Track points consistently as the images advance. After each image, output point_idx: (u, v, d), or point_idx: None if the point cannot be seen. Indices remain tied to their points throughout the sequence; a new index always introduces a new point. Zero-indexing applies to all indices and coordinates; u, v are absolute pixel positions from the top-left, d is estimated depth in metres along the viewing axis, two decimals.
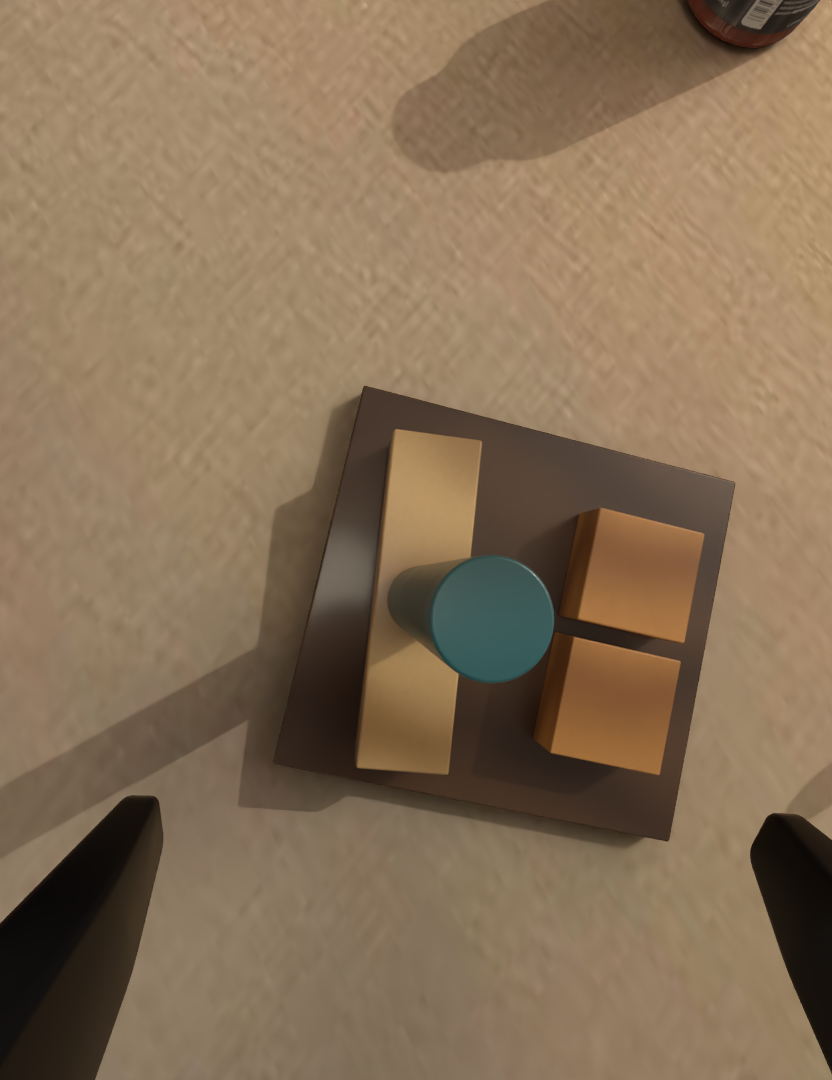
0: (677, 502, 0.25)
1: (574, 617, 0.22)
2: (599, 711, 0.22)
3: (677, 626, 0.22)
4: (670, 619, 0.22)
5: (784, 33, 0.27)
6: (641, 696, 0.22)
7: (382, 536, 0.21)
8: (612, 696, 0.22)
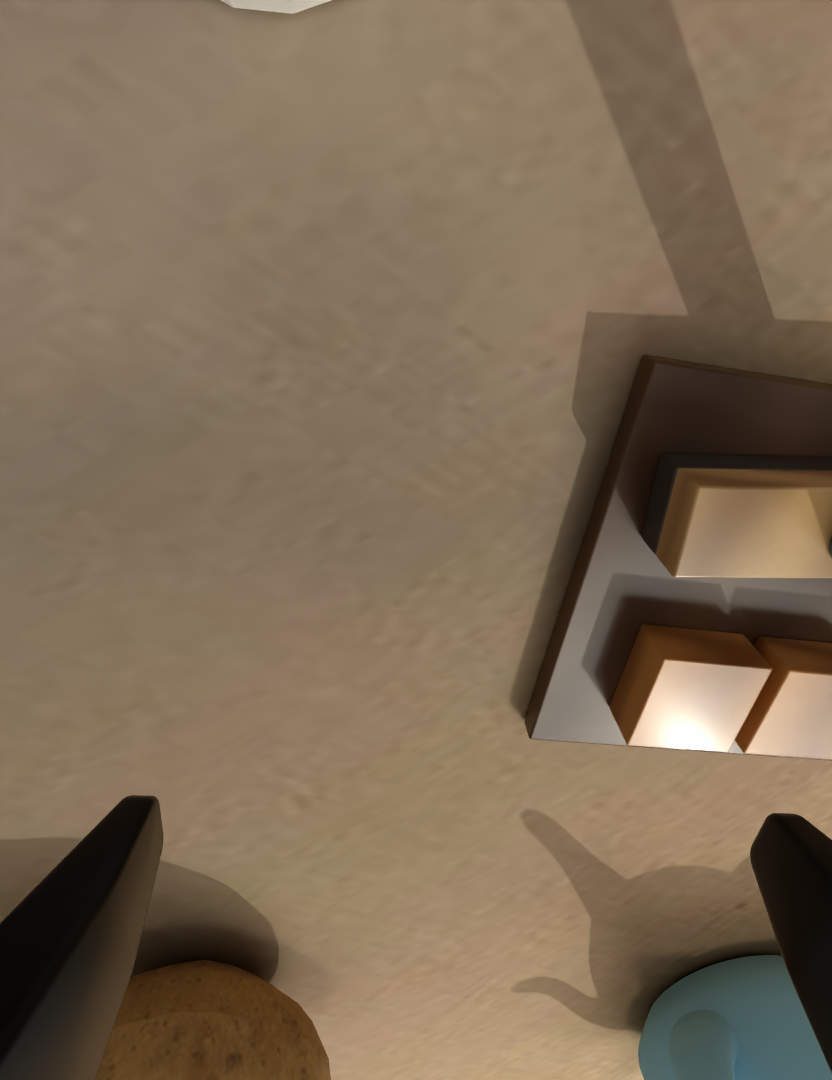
0: None
1: (785, 664, 0.22)
2: (696, 695, 0.22)
3: (760, 747, 0.24)
4: (768, 742, 0.23)
5: None
6: (702, 726, 0.23)
7: None
8: (708, 704, 0.22)
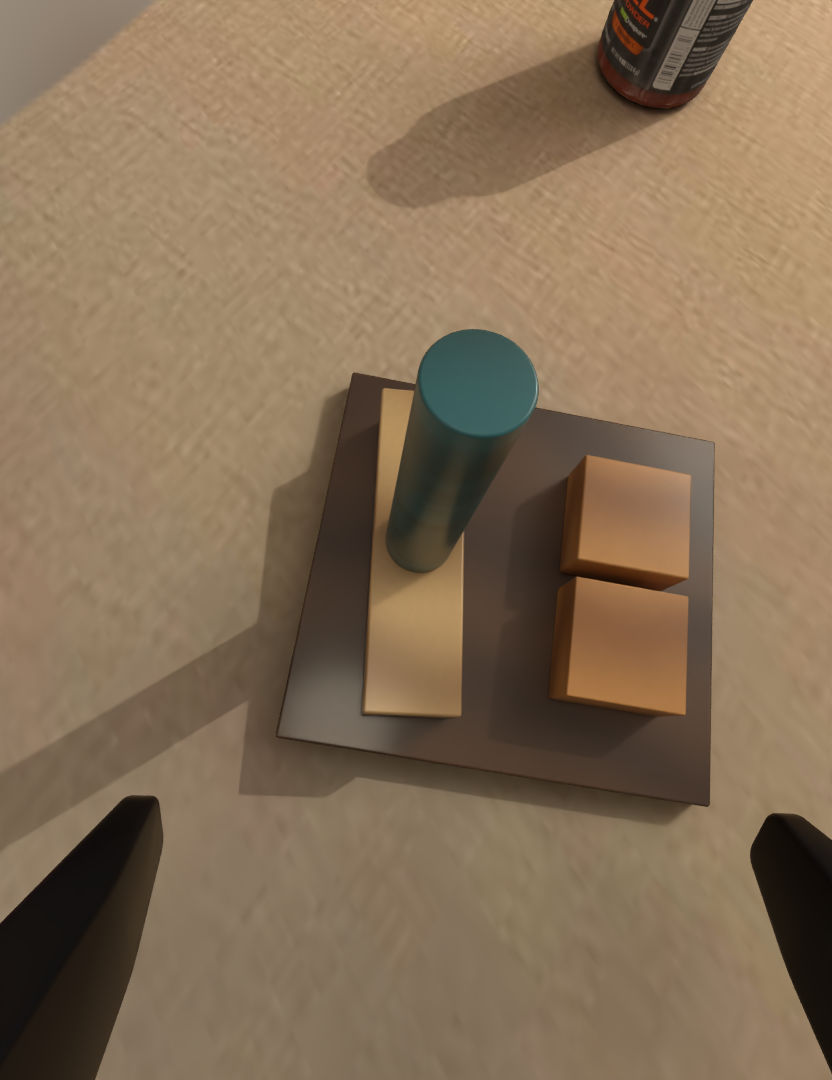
0: (661, 462, 0.25)
1: (574, 560, 0.22)
2: (612, 649, 0.21)
3: (679, 562, 0.22)
4: (671, 555, 0.22)
5: (690, 94, 0.32)
6: (654, 633, 0.21)
7: (377, 483, 0.21)
8: (624, 634, 0.21)
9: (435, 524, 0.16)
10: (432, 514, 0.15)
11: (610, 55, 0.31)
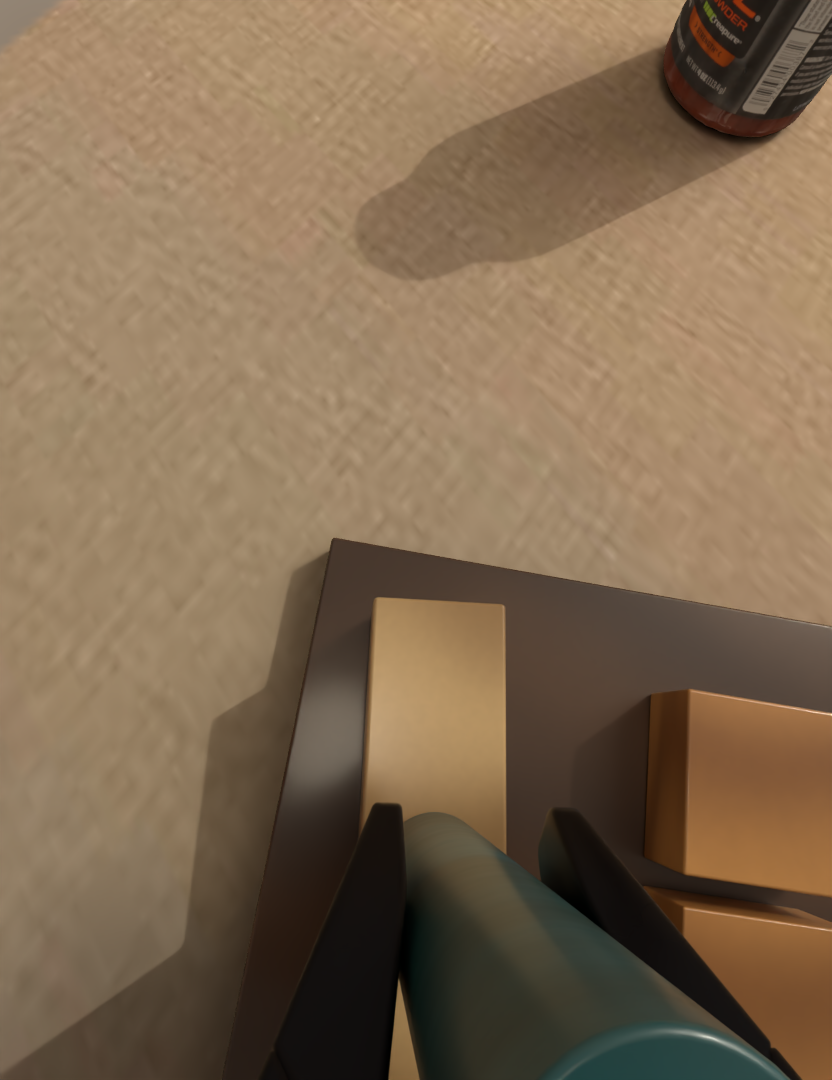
0: (783, 666, 0.17)
1: (677, 870, 0.14)
2: None
3: None
4: (827, 861, 0.14)
5: (789, 118, 0.24)
6: (810, 1005, 0.13)
7: (365, 766, 0.13)
8: (764, 1011, 0.13)
9: None
10: None
11: (684, 67, 0.23)
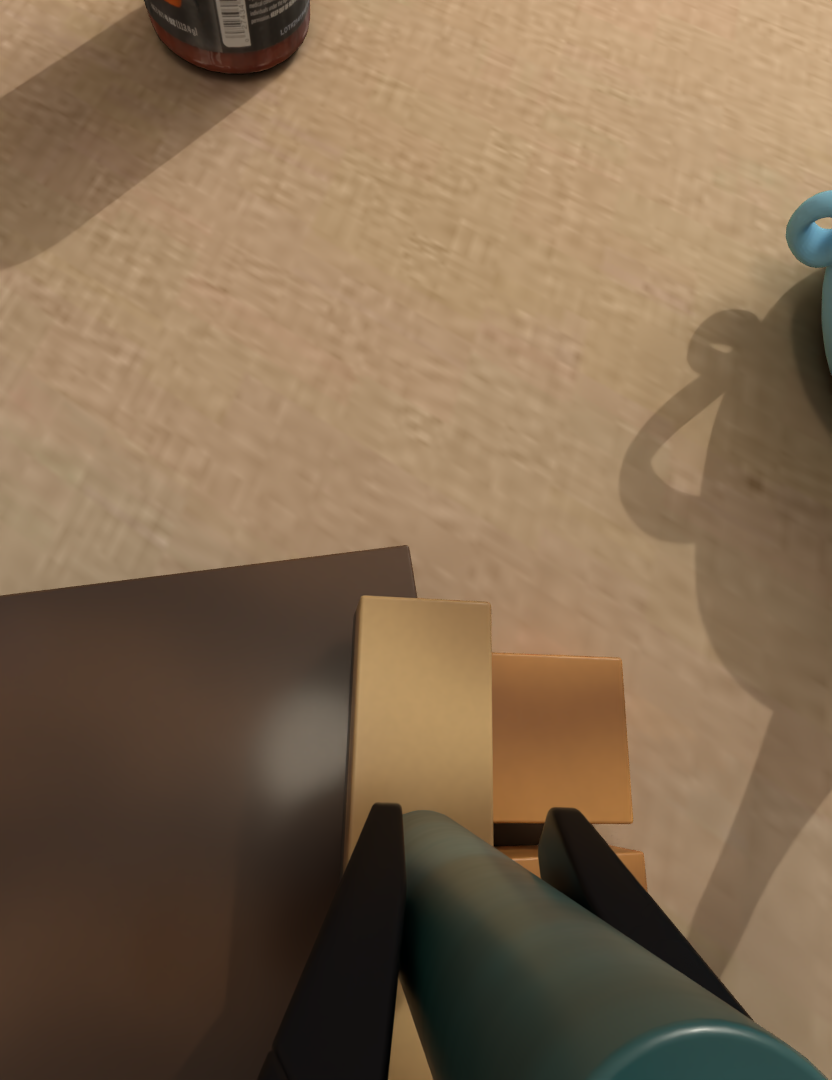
0: (335, 602, 0.17)
1: None
2: None
3: (618, 800, 0.16)
4: (605, 791, 0.16)
5: (287, 43, 0.23)
6: None
7: (352, 766, 0.13)
8: None
9: None
10: None
11: (155, 15, 0.22)
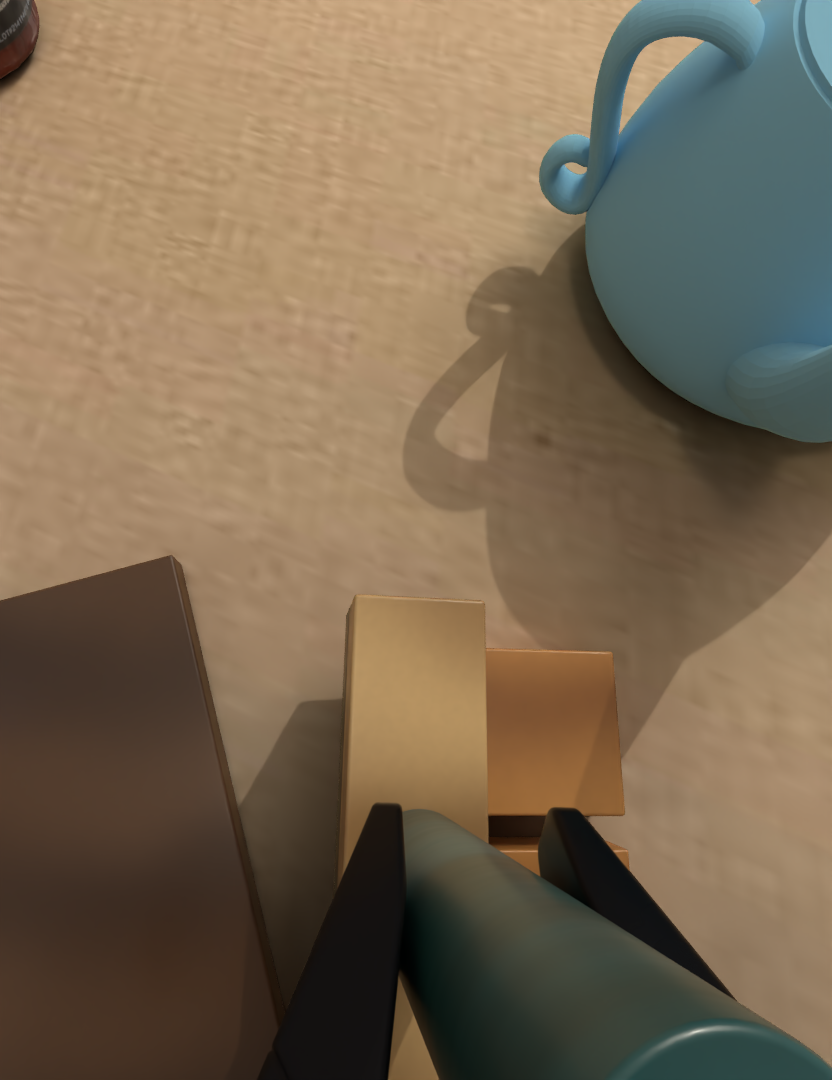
0: (95, 626, 0.17)
1: None
2: None
3: (610, 793, 0.16)
4: (596, 784, 0.16)
5: (11, 50, 0.22)
6: None
7: (348, 765, 0.13)
8: None
9: None
10: None
11: None
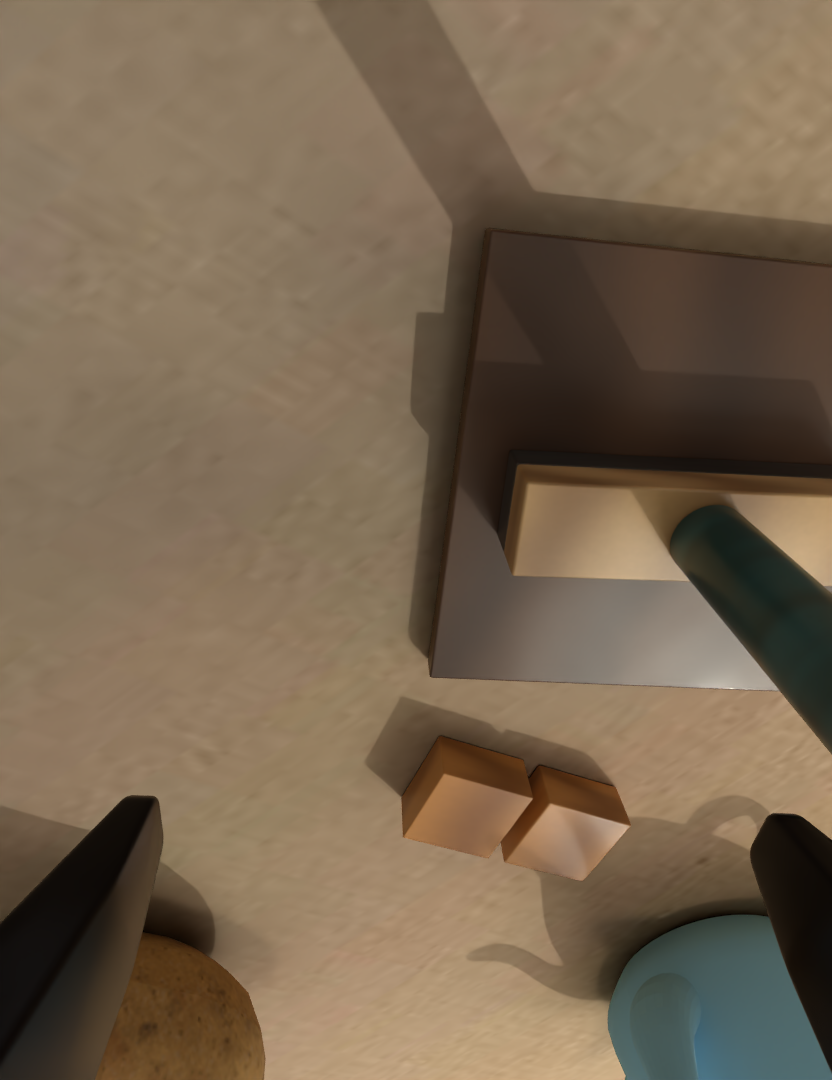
0: None
1: (548, 796, 0.26)
2: (467, 807, 0.26)
3: (518, 860, 0.27)
4: (526, 856, 0.27)
5: None
6: (469, 834, 0.26)
7: (786, 493, 0.18)
8: (475, 817, 0.26)
9: (763, 641, 0.14)
10: (785, 654, 0.13)
11: None
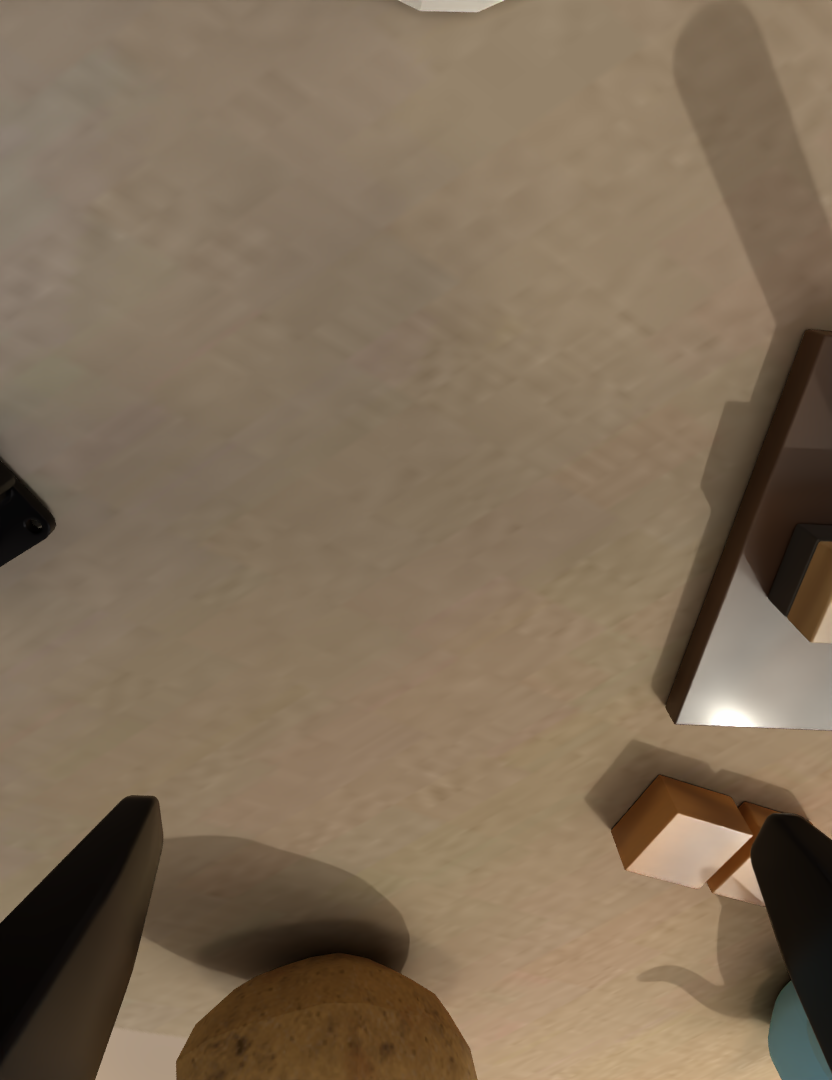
0: None
1: None
2: (690, 843, 0.27)
3: (725, 891, 0.29)
4: (733, 888, 0.29)
5: None
6: (687, 867, 0.28)
7: None
8: (697, 852, 0.27)
9: None
10: None
11: None
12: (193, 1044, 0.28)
